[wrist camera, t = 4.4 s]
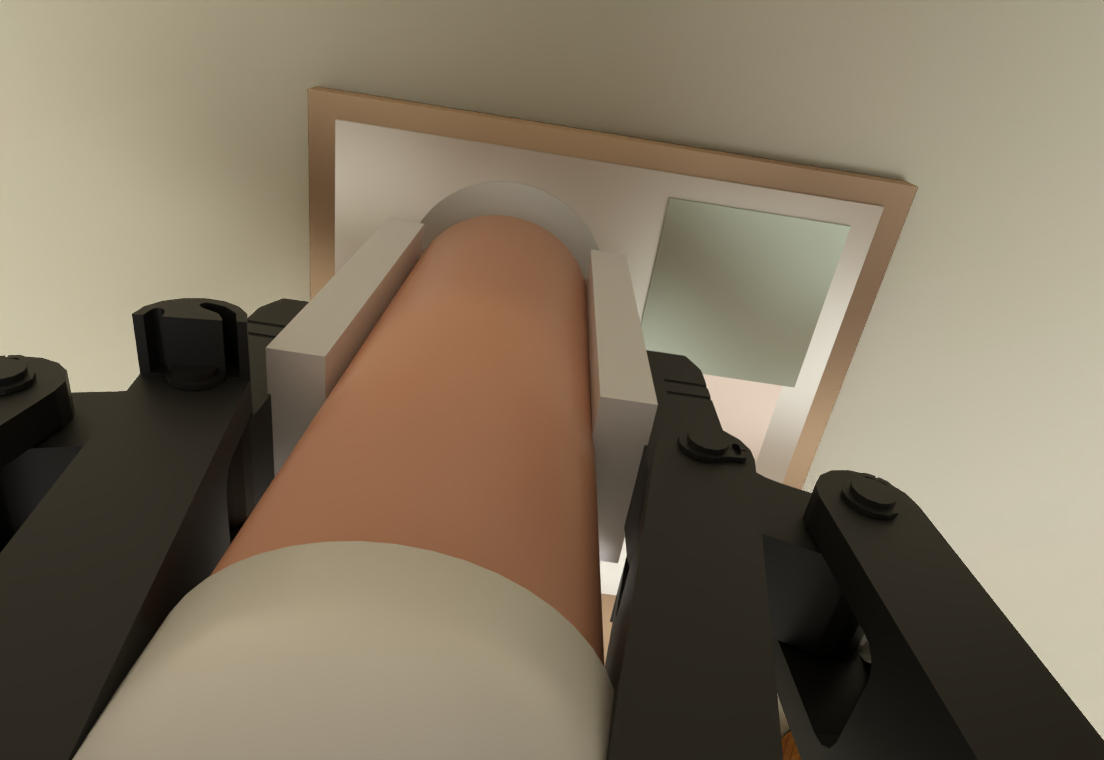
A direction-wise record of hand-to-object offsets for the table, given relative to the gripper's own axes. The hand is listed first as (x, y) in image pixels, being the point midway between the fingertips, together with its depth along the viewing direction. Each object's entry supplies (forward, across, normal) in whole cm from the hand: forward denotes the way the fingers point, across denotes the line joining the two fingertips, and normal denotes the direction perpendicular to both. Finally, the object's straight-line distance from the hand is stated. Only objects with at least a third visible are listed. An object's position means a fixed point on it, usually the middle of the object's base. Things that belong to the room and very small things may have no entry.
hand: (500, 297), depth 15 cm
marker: (+1, 0, 0) cm, 1 cm away
